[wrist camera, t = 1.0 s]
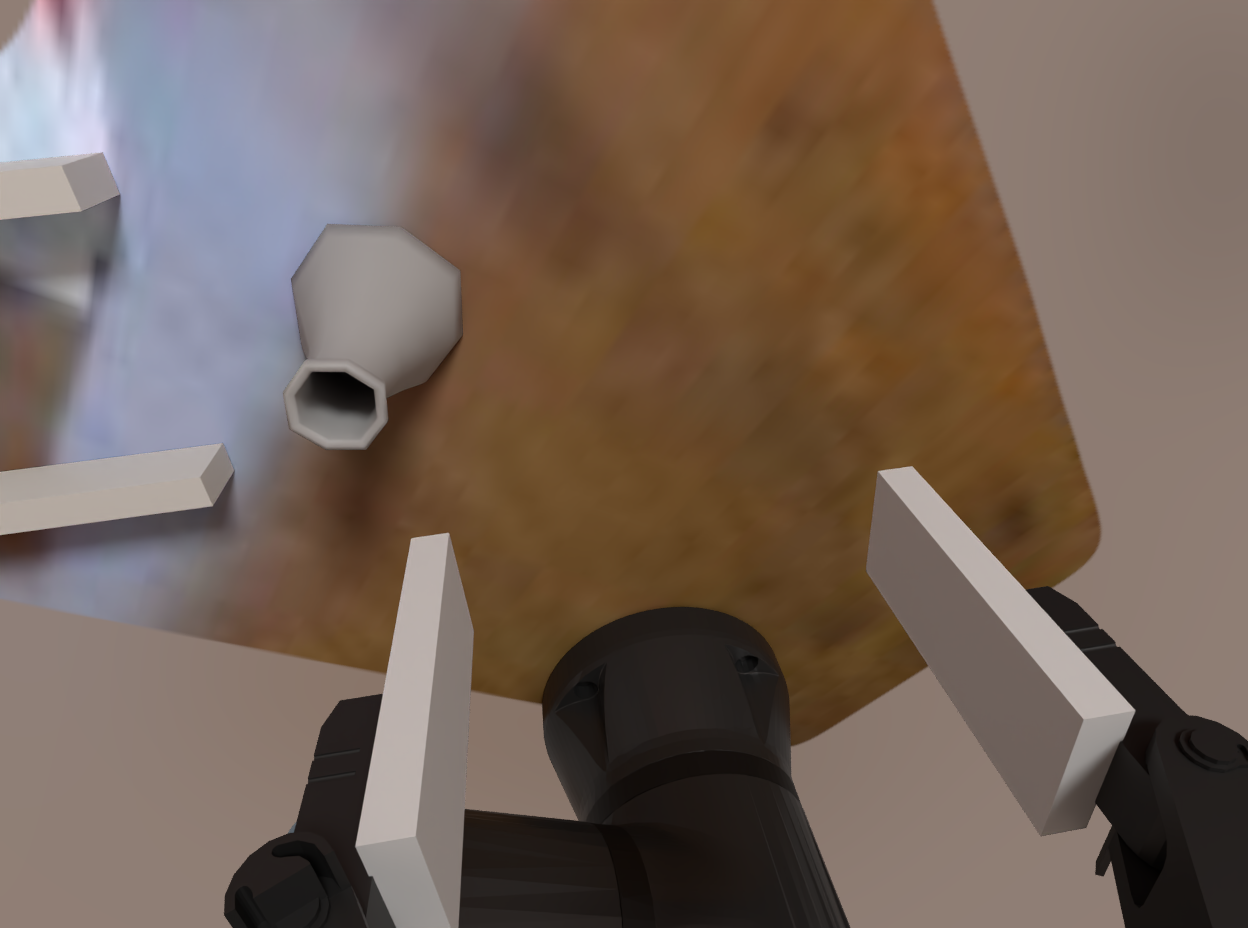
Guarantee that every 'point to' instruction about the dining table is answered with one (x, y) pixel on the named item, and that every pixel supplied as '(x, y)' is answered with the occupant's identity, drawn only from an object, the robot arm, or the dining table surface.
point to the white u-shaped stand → (108, 481)
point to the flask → (367, 329)
